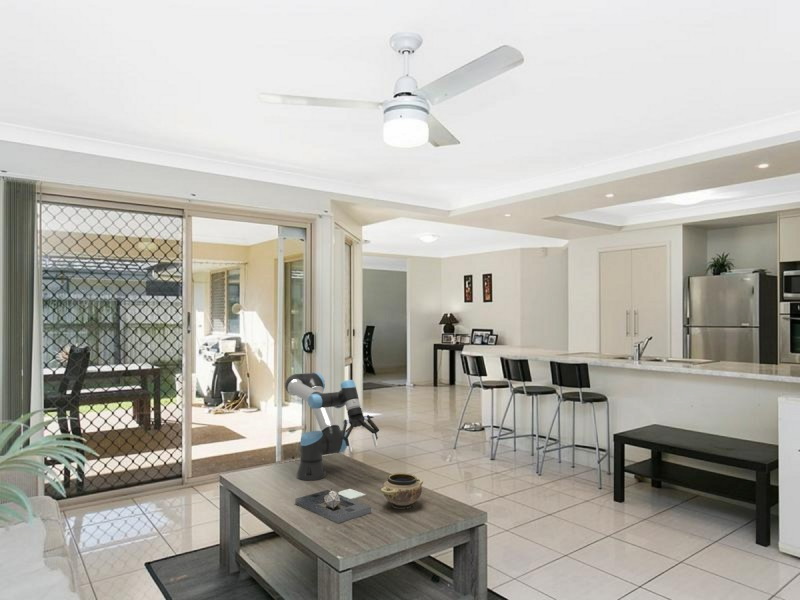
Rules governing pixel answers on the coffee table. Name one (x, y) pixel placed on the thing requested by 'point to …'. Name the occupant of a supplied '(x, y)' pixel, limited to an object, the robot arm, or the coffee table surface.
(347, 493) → the pale green flat panel
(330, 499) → the game die
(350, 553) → the coffee table surface
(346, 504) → the dark grey rectangular frame
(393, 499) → the ceramic bowl
